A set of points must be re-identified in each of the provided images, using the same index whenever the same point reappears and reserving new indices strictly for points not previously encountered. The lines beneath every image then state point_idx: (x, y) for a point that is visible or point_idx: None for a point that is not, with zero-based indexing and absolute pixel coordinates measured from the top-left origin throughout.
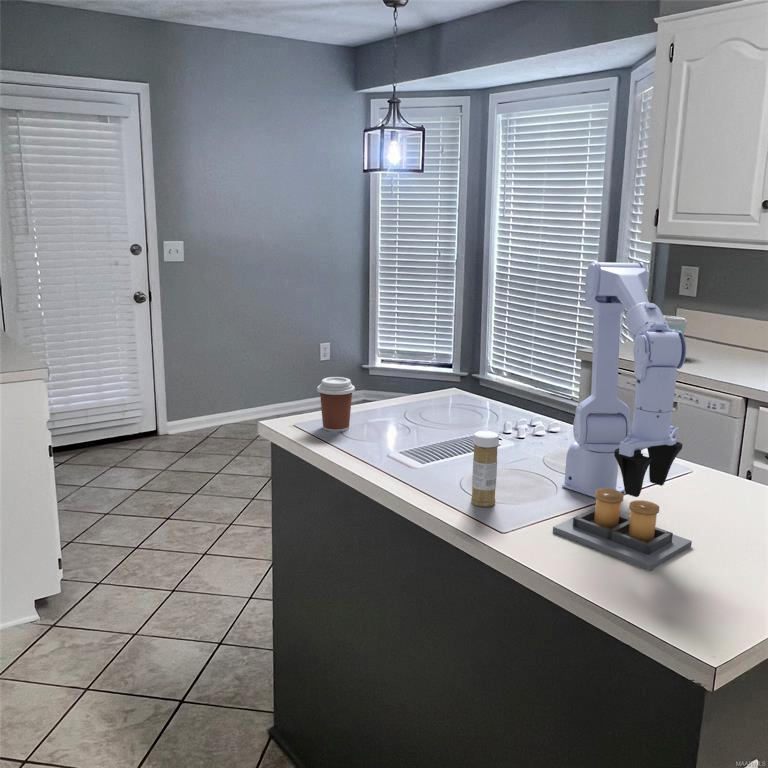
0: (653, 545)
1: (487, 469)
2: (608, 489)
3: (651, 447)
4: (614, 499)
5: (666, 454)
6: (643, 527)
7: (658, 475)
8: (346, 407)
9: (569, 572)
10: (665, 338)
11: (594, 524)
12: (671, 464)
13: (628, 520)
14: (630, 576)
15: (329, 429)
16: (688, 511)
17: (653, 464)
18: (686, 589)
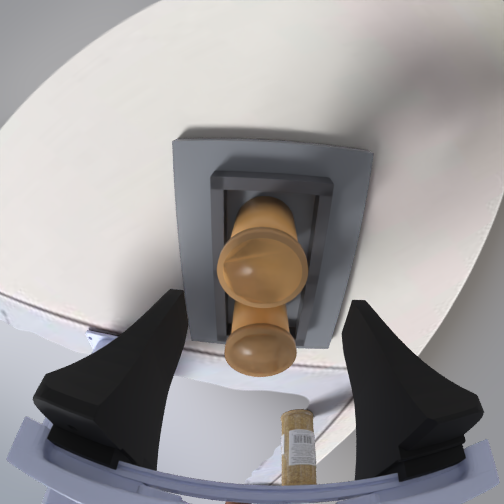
0: (311, 180)
1: (311, 457)
2: (236, 365)
3: (152, 443)
4: (281, 337)
5: (134, 396)
6: (294, 230)
7: (175, 328)
8: (237, 502)
9: (449, 256)
10: None
11: (306, 313)
12: (119, 336)
13: None
14: (413, 172)
15: None
16: (51, 229)
17: (165, 376)
18: (391, 66)
